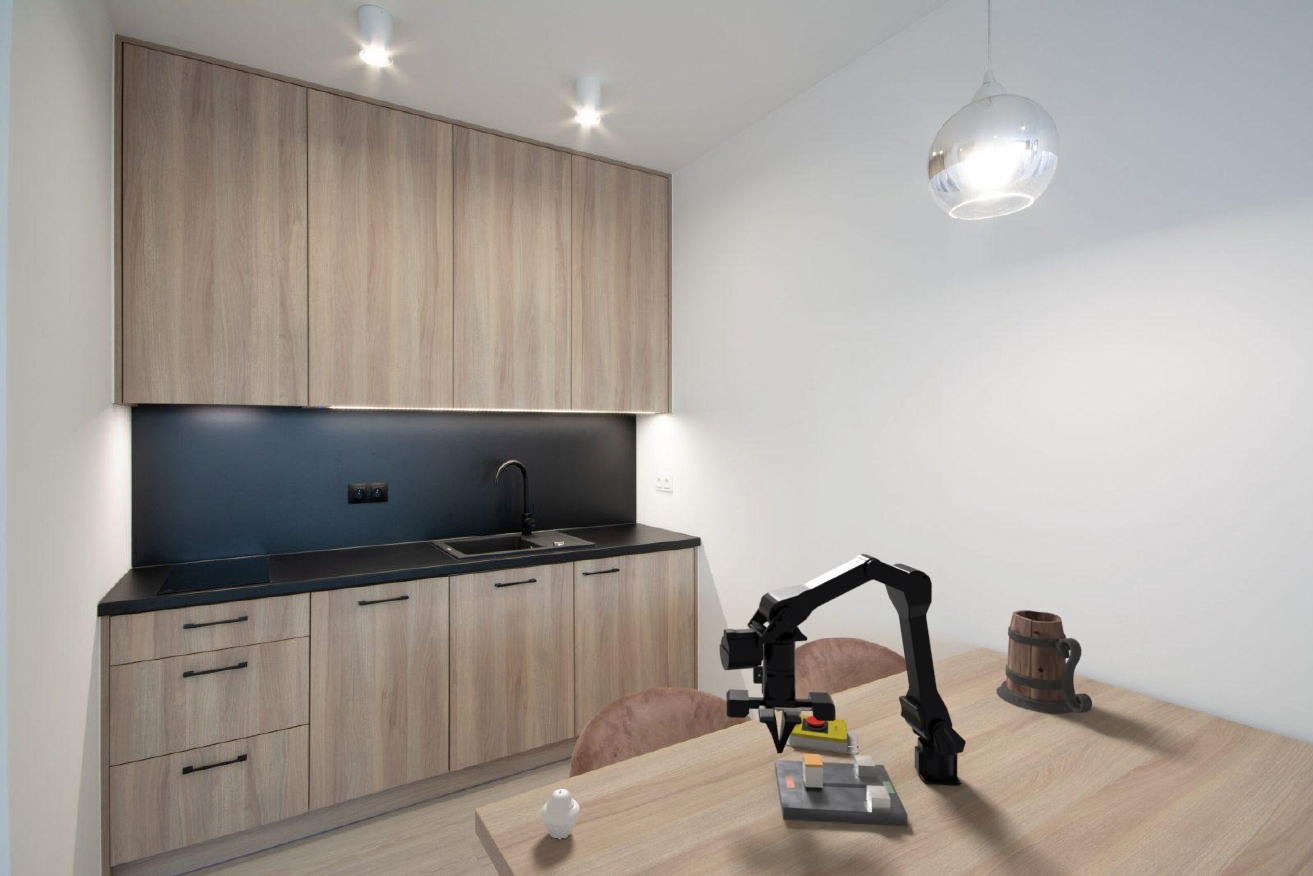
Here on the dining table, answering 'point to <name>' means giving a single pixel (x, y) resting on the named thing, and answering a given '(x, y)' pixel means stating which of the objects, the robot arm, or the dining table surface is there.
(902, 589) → the robot arm
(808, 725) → the emergency button
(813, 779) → the block
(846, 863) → the dining table surface
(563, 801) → the white rounded lump
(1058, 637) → the tankard
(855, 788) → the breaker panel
